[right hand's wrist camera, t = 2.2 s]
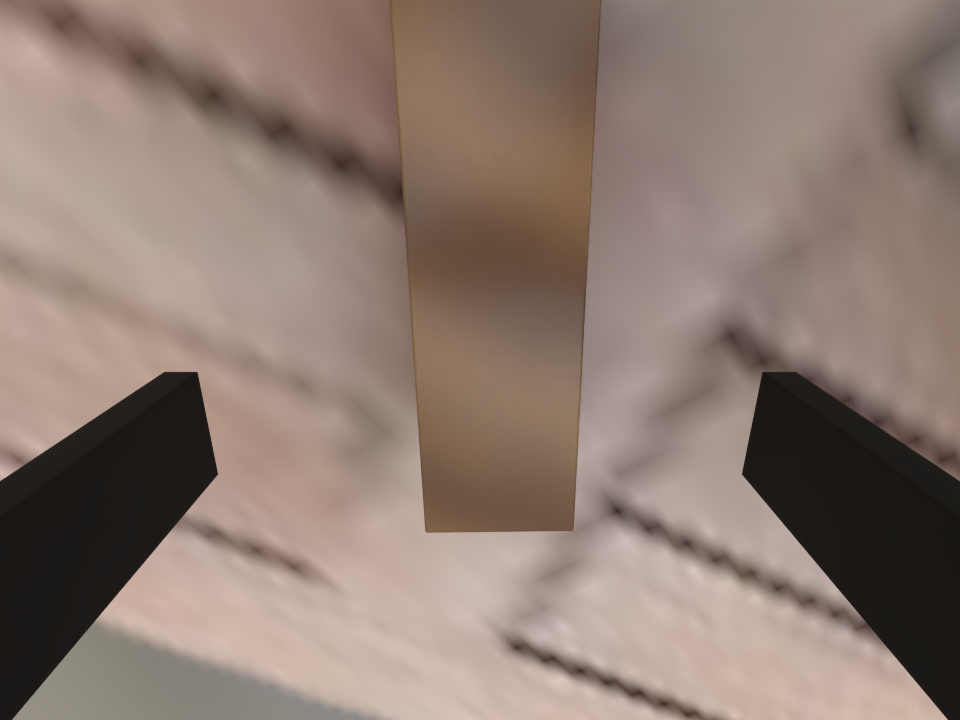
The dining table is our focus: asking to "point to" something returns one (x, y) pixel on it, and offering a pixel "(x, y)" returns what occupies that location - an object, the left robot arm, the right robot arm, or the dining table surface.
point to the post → (497, 250)
